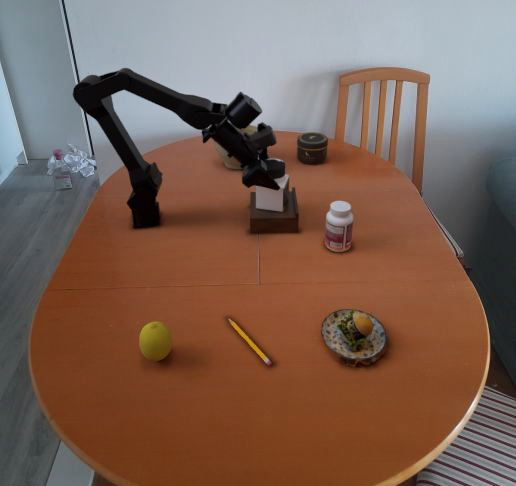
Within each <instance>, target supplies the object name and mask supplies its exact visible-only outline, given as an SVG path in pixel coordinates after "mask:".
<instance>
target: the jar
mask: <svg viewBox="0 0 516 486" xmlns="http://www.w3.org/2000/svg"><path fill="white" fill-rule="evenodd" d="M296 139H297V140H296V155H297V159H298V160H299V162H301V163H303V164H305V165H320V164H322V163H324V162H325V161H326V158H327V156H328V146H329V138H328V136H327V135H326V134H323V133H321V132H315V131H314V132H313V131H312V132H311V131H310V132H309V131H307V132H304V133H301V134H299V135H298V136H297V138H296Z"/></svg>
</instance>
